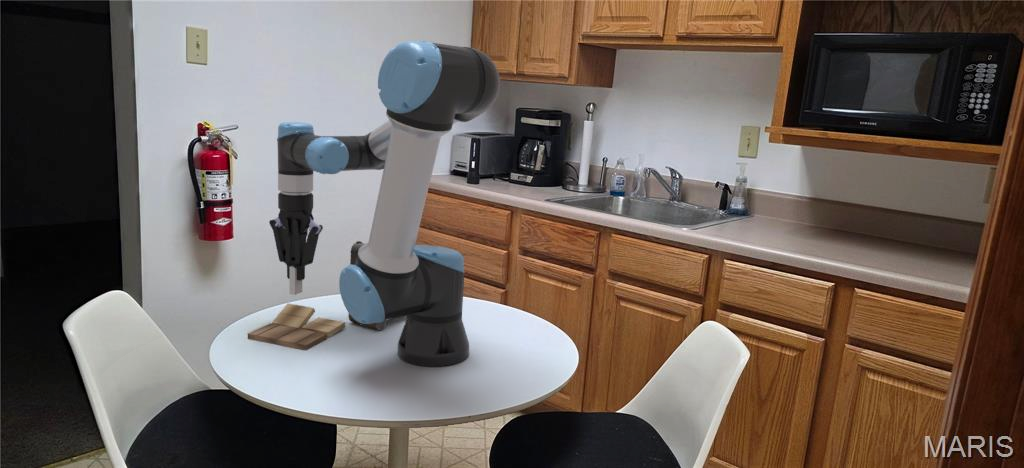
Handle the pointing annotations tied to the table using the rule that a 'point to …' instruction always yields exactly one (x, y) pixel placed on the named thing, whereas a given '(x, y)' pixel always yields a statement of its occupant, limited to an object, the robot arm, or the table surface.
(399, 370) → the table surface
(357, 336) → the table surface
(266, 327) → the walnut row
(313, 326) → the oak plank
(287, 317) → the oak plank
